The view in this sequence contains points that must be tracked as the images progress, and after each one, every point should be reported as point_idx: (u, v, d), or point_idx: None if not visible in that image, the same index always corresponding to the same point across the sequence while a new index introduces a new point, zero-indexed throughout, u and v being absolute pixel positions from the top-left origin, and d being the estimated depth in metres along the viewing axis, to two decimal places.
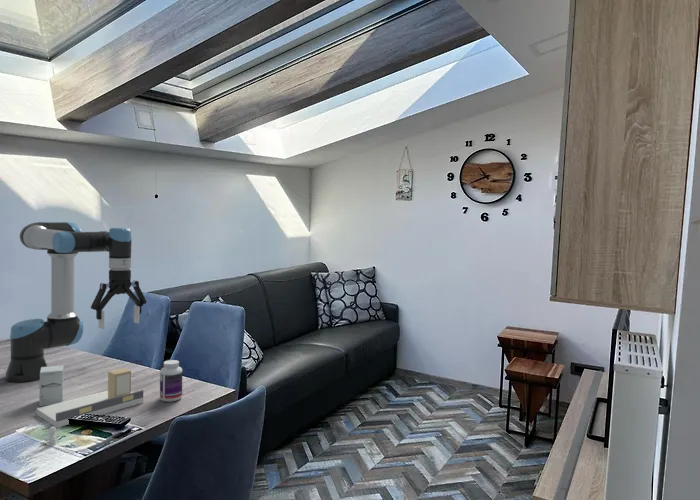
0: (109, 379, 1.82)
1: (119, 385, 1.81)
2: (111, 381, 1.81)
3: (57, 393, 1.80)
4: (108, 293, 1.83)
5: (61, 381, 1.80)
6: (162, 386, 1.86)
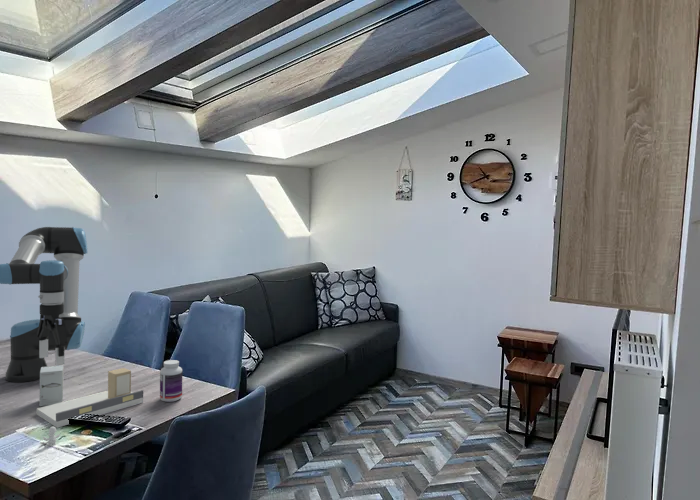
0: (109, 379, 1.82)
1: (119, 385, 1.81)
2: (111, 381, 1.81)
3: (57, 393, 1.80)
4: None
5: (61, 381, 1.80)
6: (162, 386, 1.86)
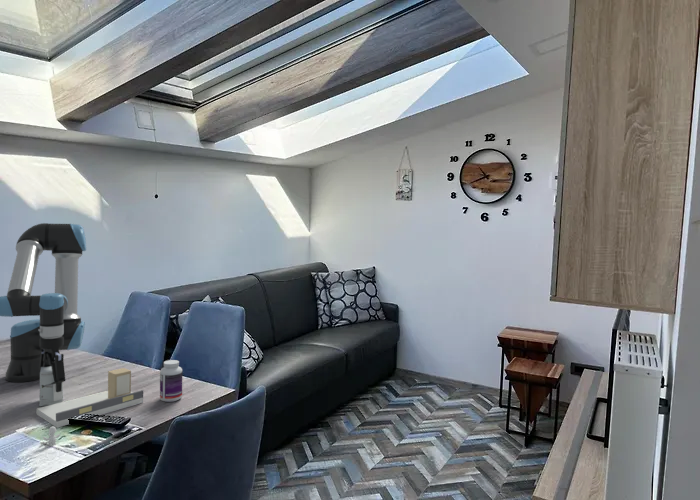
0: (109, 379, 1.82)
1: (119, 385, 1.81)
2: (111, 381, 1.81)
3: None
4: None
5: None
6: (162, 386, 1.86)
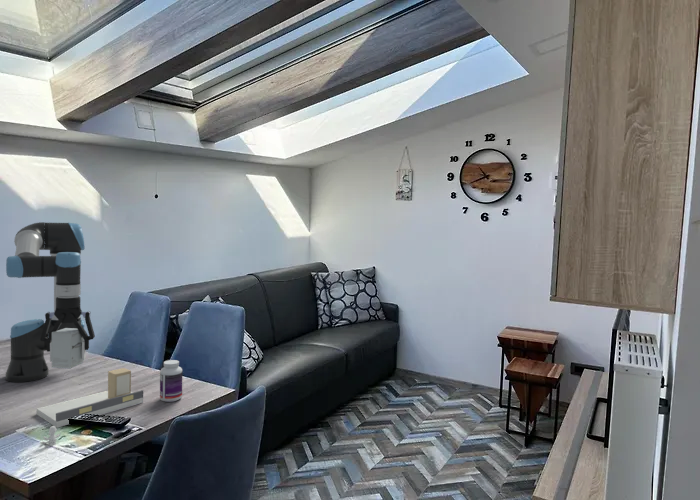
0: (109, 379, 1.82)
1: (119, 385, 1.81)
2: (111, 381, 1.81)
3: (81, 353, 1.76)
4: None
5: None
6: (162, 386, 1.86)
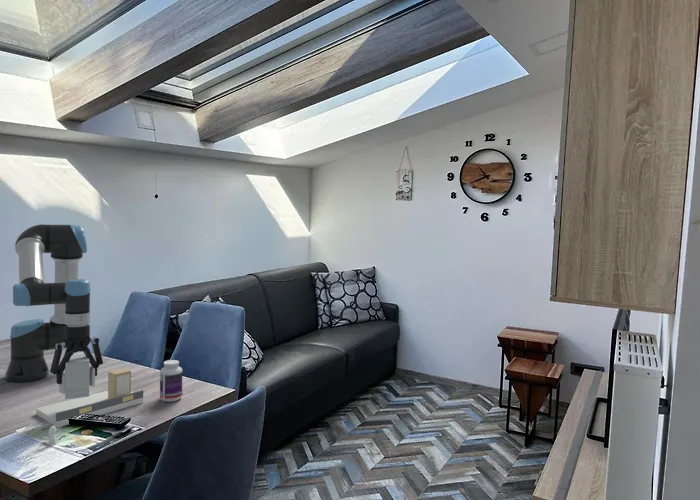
0: (109, 379, 1.82)
1: (119, 385, 1.81)
2: (111, 381, 1.81)
3: None
4: (66, 353, 1.68)
5: None
6: (162, 386, 1.86)
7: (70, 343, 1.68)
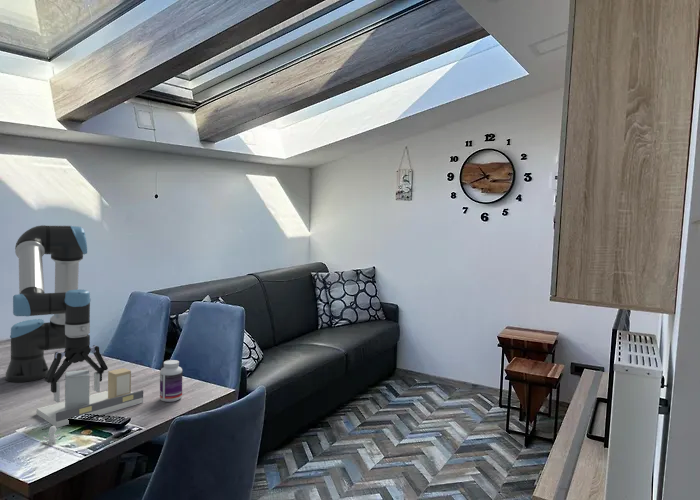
0: (109, 379, 1.82)
1: (119, 385, 1.81)
2: (111, 381, 1.81)
3: None
4: (64, 362, 1.68)
5: None
6: (162, 386, 1.86)
7: (70, 354, 1.68)
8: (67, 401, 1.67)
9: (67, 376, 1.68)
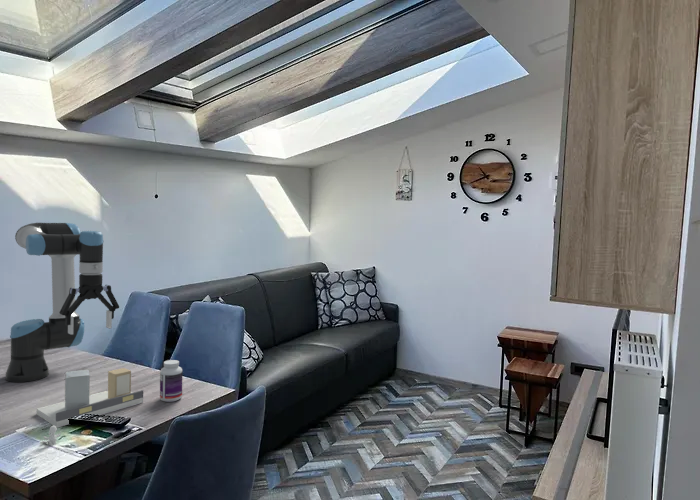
0: (109, 379, 1.82)
1: (119, 385, 1.81)
2: (111, 381, 1.81)
3: None
4: (78, 298, 1.79)
5: None
6: (162, 386, 1.86)
7: (84, 290, 1.79)
8: (67, 401, 1.67)
9: (67, 376, 1.68)
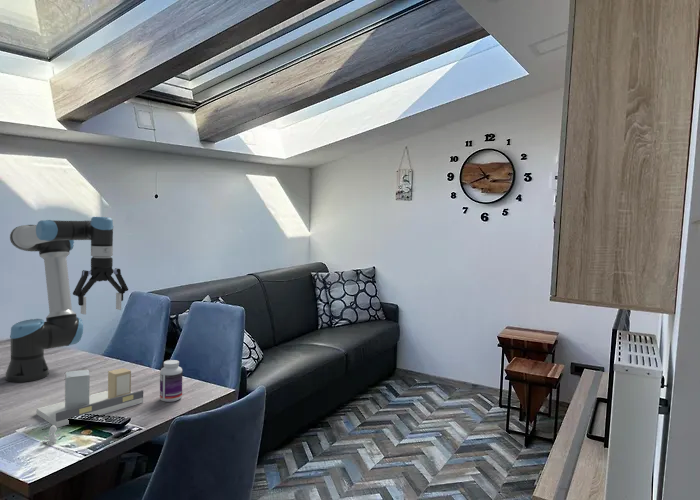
0: (109, 379, 1.82)
1: (119, 385, 1.81)
2: (111, 381, 1.81)
3: None
4: (90, 280, 1.89)
5: None
6: (162, 386, 1.86)
7: (95, 272, 1.89)
8: (67, 401, 1.67)
9: (67, 376, 1.68)
